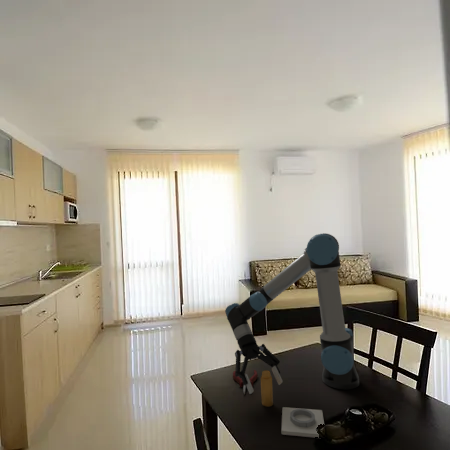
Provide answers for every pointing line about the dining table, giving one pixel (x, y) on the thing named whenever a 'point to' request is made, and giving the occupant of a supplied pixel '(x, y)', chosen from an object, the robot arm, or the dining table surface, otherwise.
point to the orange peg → (266, 389)
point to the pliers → (242, 381)
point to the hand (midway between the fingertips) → (266, 388)
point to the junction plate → (301, 421)
